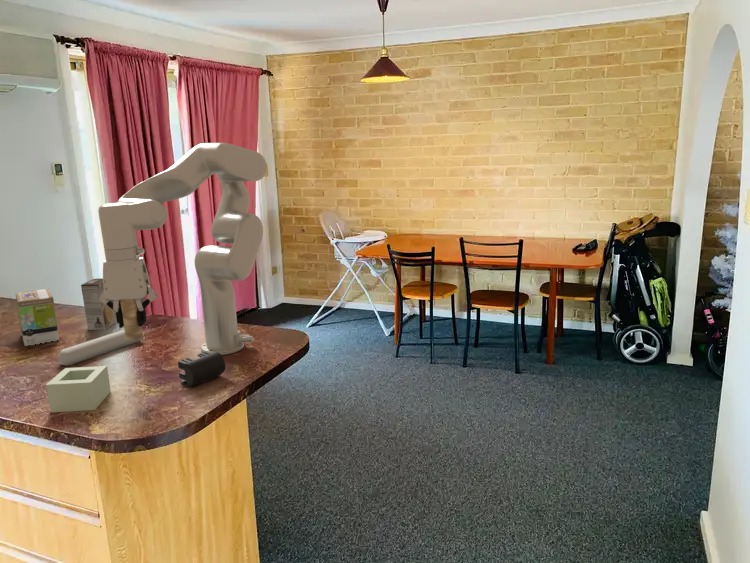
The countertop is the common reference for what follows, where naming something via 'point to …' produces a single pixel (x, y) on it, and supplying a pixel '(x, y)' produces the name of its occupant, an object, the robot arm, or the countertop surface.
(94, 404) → the socket block
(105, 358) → the countertop surface
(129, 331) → the peg
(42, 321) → the tea box
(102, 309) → the coffee box
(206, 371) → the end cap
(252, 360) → the countertop surface
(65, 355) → the tube
